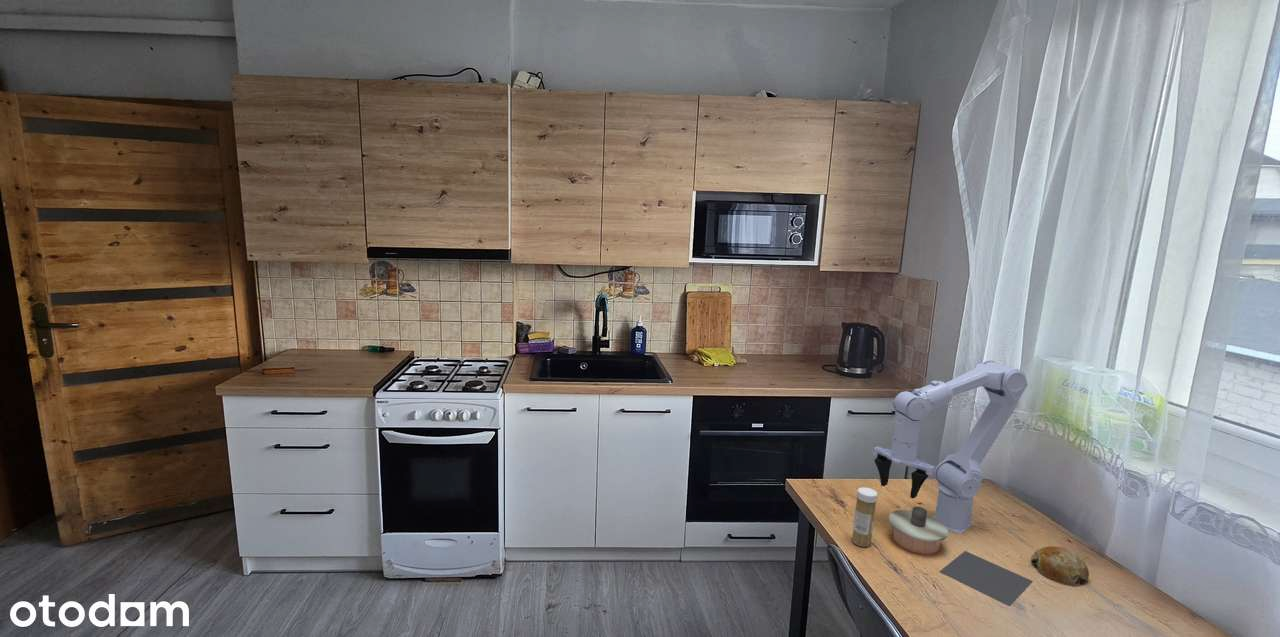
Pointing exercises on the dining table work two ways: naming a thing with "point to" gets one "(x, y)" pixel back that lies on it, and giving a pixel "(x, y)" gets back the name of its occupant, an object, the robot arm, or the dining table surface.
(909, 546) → the bowl
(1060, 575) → the bread roll
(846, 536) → the dining table surface
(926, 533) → the lid
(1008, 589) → the mat
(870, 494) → the sprinkles bottle
